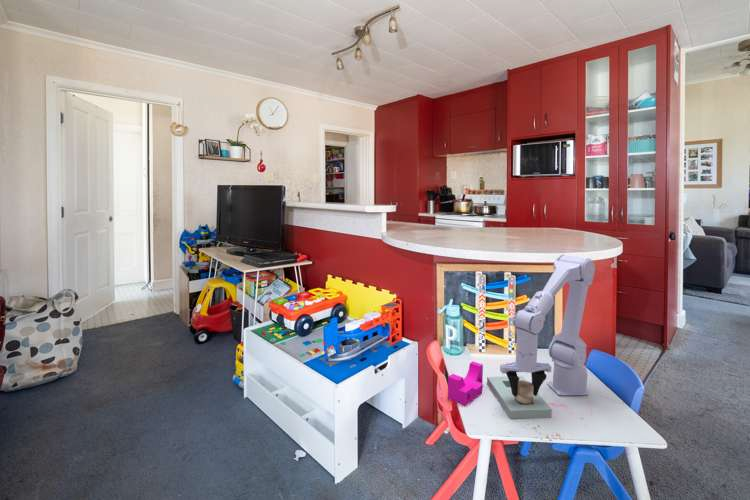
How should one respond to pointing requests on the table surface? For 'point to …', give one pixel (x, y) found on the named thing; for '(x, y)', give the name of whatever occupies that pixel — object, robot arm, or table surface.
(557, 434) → the table surface
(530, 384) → the beige rounded lump
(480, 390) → the toy block
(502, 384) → the board
